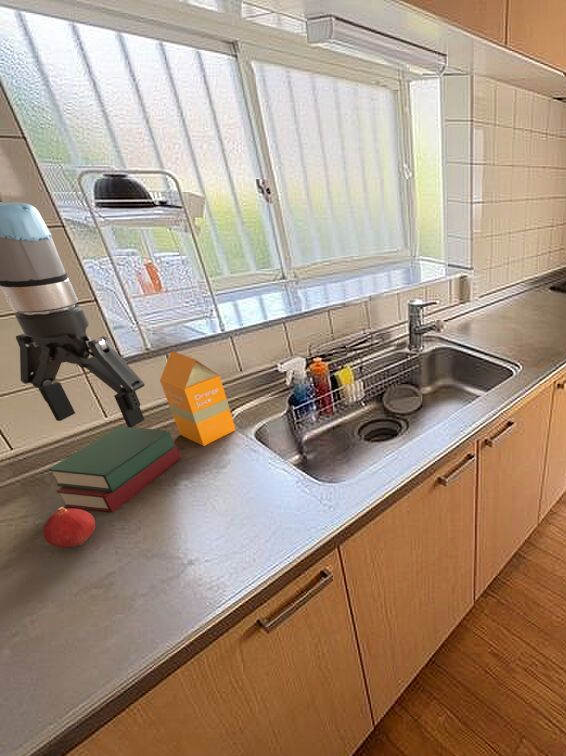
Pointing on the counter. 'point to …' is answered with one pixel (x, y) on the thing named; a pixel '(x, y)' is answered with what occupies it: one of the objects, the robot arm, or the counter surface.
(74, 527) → the pomegranate
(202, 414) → the orange juice
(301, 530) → the counter surface
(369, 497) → the counter surface
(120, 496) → the burgundy book
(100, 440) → the green book
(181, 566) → the counter surface
